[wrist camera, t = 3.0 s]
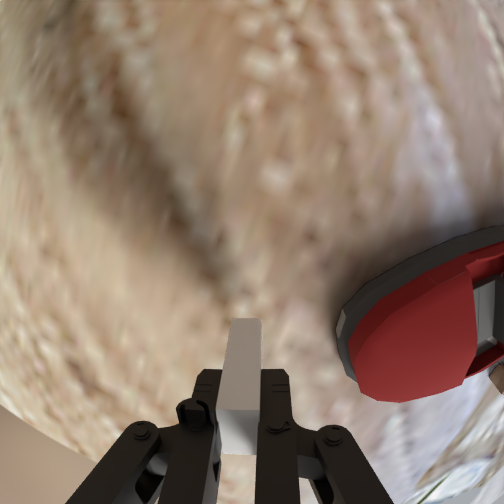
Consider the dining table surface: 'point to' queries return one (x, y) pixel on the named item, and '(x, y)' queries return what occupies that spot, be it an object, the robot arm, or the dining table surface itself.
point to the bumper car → (427, 320)
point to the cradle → (498, 378)
